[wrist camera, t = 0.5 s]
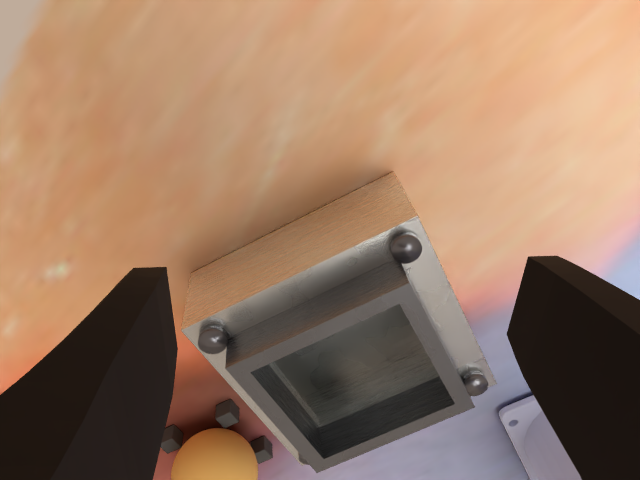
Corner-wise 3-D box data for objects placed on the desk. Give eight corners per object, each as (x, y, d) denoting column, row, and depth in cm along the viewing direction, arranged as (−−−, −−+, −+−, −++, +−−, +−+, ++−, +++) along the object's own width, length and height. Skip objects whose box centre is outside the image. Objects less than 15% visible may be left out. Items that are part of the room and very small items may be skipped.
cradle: (272, 444, 27) (272, 458, 27) (205, 473, 28) (204, 486, 27) (230, 399, 25) (229, 412, 25) (160, 430, 26) (157, 444, 25)
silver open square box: (467, 327, 25) (511, 412, 20) (296, 402, 26) (304, 497, 22) (393, 171, 20) (430, 239, 16) (191, 272, 21) (175, 360, 17)
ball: (272, 444, 27) (274, 518, 24) (205, 472, 28) (199, 549, 25) (230, 398, 25) (226, 473, 22) (160, 430, 26) (145, 508, 23)
